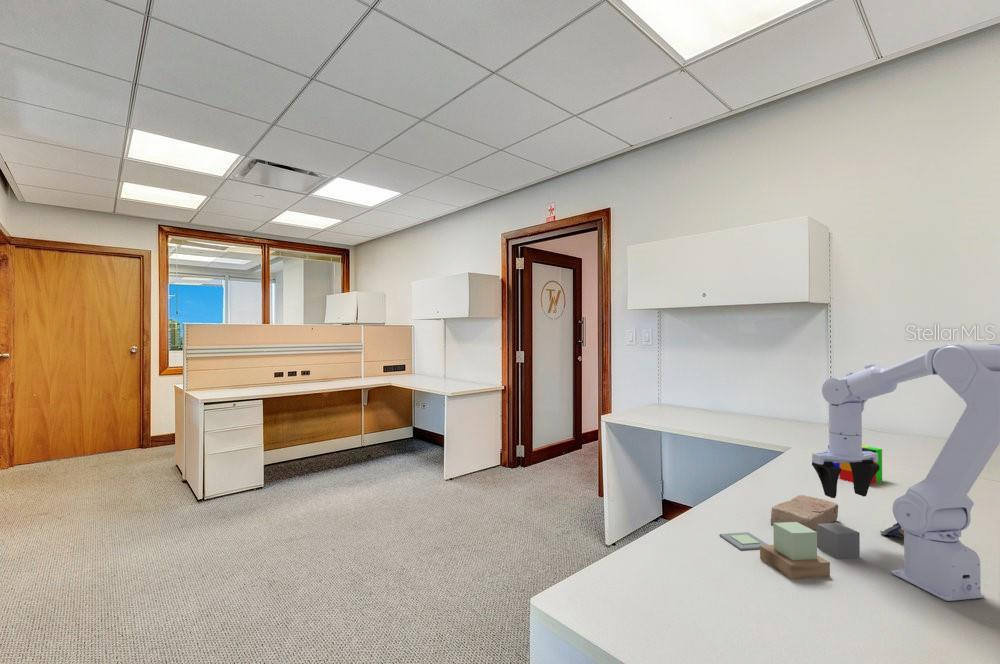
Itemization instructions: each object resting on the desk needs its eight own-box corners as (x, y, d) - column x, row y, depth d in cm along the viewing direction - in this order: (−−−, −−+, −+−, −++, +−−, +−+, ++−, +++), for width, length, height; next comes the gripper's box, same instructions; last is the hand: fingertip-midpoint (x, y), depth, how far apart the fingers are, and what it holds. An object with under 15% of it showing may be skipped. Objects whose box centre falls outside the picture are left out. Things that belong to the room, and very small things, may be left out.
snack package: (880, 523, 109) (878, 538, 100) (886, 497, 109) (884, 510, 100) (951, 548, 101) (956, 567, 92) (958, 520, 101) (963, 536, 92)
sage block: (817, 559, 85) (816, 532, 86) (792, 560, 85) (792, 533, 85) (796, 547, 90) (796, 521, 91) (773, 548, 90) (773, 522, 90)
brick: (807, 538, 101) (807, 516, 101) (768, 525, 108) (768, 505, 108) (839, 522, 110) (839, 503, 110) (801, 511, 117) (801, 493, 117)
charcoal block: (859, 557, 92) (859, 532, 92) (837, 559, 91) (837, 534, 91) (837, 546, 97) (837, 522, 97) (817, 547, 96) (816, 524, 96)
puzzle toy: (828, 476, 147) (828, 445, 147) (846, 472, 151) (846, 442, 151) (863, 485, 138) (863, 452, 138) (882, 481, 142) (882, 449, 142)
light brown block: (829, 578, 84) (829, 562, 84) (791, 581, 83) (791, 565, 83) (795, 558, 92) (795, 543, 92) (760, 560, 91) (760, 545, 91)
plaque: (771, 548, 95) (771, 545, 95) (740, 550, 94) (740, 547, 94) (747, 533, 102) (748, 531, 102) (719, 535, 101) (719, 533, 101)
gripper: (856, 428, 104) (857, 488, 104) (800, 430, 102) (801, 491, 102) (887, 435, 97) (887, 499, 97) (828, 437, 95) (828, 502, 95)
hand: (845, 495), depth 99 cm, fingers open, 7 cm apart
